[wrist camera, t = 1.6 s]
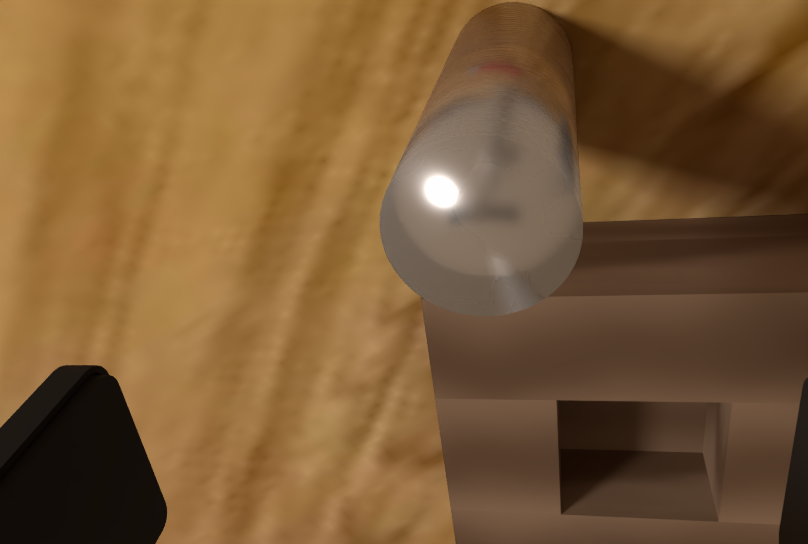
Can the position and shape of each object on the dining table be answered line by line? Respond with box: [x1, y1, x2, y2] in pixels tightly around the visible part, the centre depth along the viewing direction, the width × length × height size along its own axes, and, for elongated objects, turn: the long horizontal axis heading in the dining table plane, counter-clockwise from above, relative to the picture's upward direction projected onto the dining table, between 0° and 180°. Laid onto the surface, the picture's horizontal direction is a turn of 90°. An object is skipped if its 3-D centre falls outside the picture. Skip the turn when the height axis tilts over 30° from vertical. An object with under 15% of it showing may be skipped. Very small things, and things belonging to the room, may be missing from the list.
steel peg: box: [380, 2, 583, 316], centre depth 20 cm, size 4×4×12 cm
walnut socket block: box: [421, 214, 808, 544], centre depth 28 cm, size 14×14×5 cm
